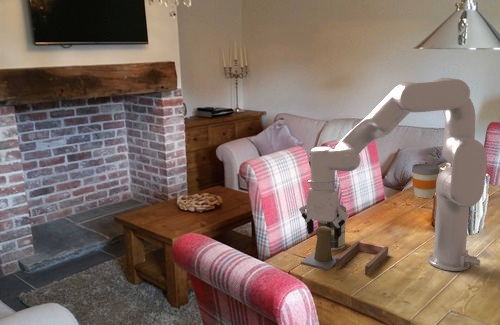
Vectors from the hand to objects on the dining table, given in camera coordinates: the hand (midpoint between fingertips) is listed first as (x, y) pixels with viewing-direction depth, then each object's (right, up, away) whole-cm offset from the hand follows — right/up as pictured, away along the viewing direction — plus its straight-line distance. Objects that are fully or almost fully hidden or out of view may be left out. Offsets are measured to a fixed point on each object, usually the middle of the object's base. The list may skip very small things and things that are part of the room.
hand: (323, 235), depth 150 cm
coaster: (-1, -9, +2) cm, 9 cm away
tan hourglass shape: (0, -8, +3) cm, 9 cm away
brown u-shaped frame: (+13, -9, +1) cm, 16 cm away
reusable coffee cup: (+61, +7, +73) cm, 95 cm away
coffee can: (+5, -6, +16) cm, 18 cm away
